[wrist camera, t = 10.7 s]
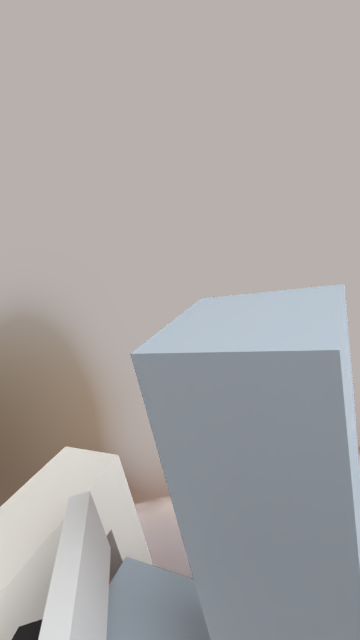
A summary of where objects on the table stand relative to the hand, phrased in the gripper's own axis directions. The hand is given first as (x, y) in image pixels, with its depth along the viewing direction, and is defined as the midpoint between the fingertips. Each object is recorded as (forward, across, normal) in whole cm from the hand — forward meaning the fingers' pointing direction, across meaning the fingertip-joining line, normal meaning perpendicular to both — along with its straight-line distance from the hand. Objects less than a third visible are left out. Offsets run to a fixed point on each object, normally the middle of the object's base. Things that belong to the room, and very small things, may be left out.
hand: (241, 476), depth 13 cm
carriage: (-2, -3, -11) cm, 11 cm away
